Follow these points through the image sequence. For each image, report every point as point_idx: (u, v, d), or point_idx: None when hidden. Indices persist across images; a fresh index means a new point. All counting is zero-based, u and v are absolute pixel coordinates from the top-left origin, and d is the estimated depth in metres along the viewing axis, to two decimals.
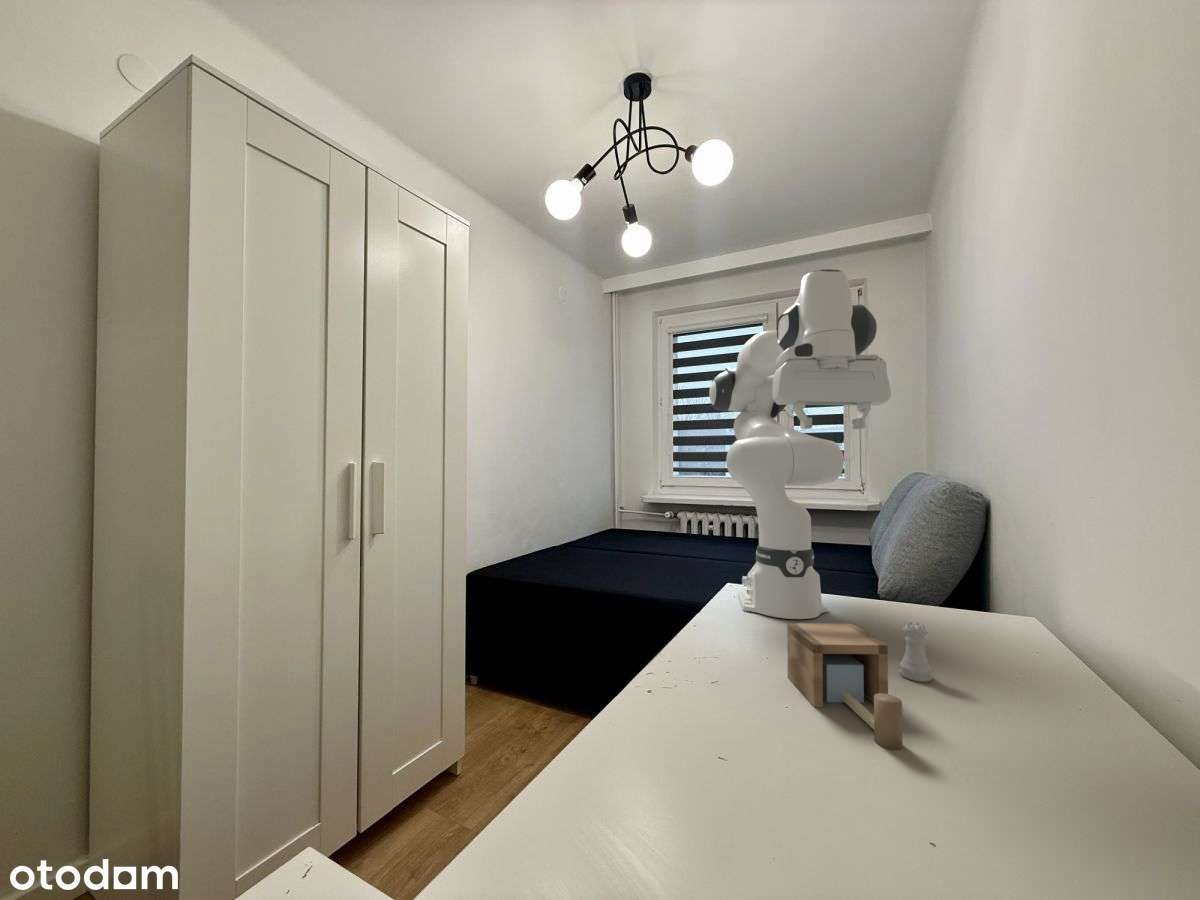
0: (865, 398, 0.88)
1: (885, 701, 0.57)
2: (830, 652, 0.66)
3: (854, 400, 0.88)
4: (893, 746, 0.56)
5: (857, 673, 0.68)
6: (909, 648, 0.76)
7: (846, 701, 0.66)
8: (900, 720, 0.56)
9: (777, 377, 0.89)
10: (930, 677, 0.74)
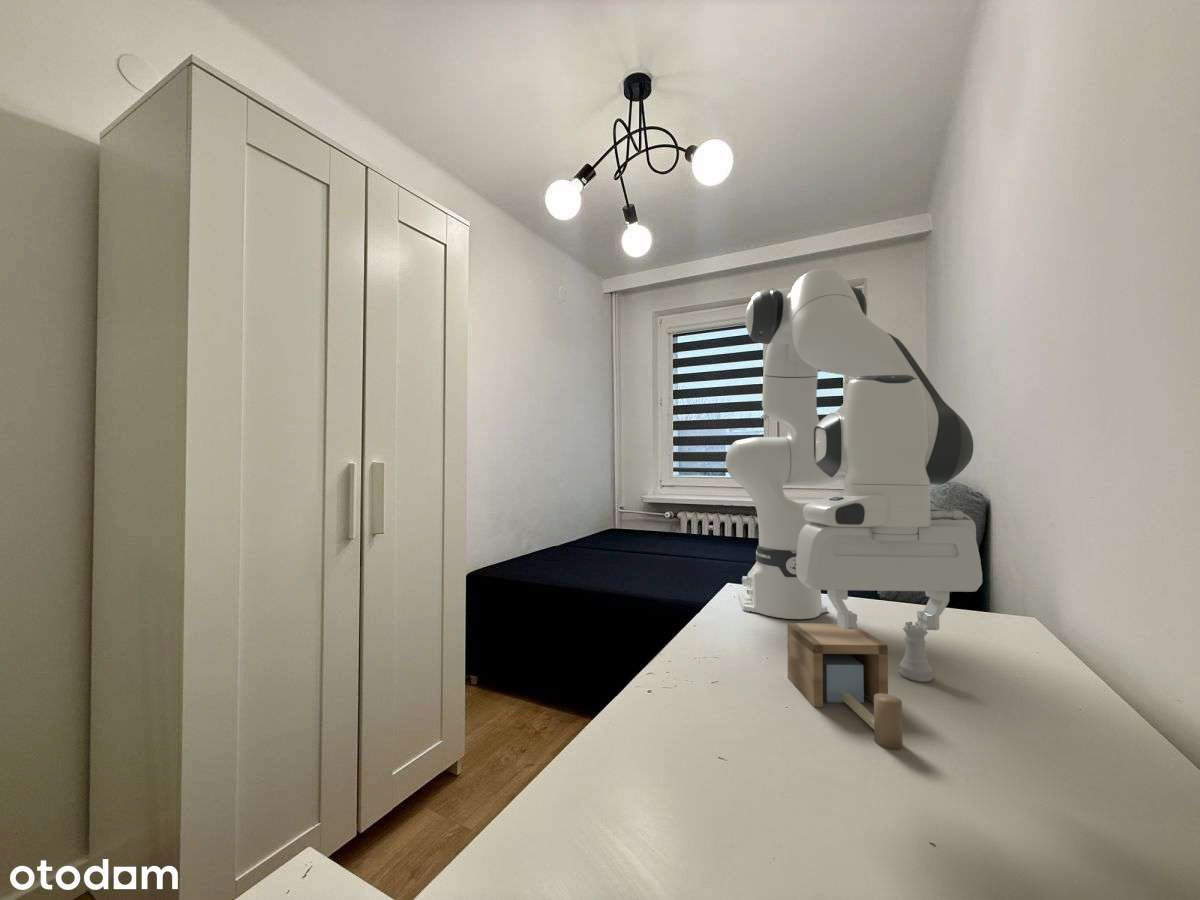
0: (942, 587, 0.56)
1: (885, 701, 0.57)
2: (830, 652, 0.66)
3: (924, 590, 0.56)
4: (893, 746, 0.56)
5: (857, 673, 0.68)
6: (909, 648, 0.76)
7: (846, 701, 0.66)
8: (900, 720, 0.56)
9: (805, 549, 0.57)
10: (930, 677, 0.74)
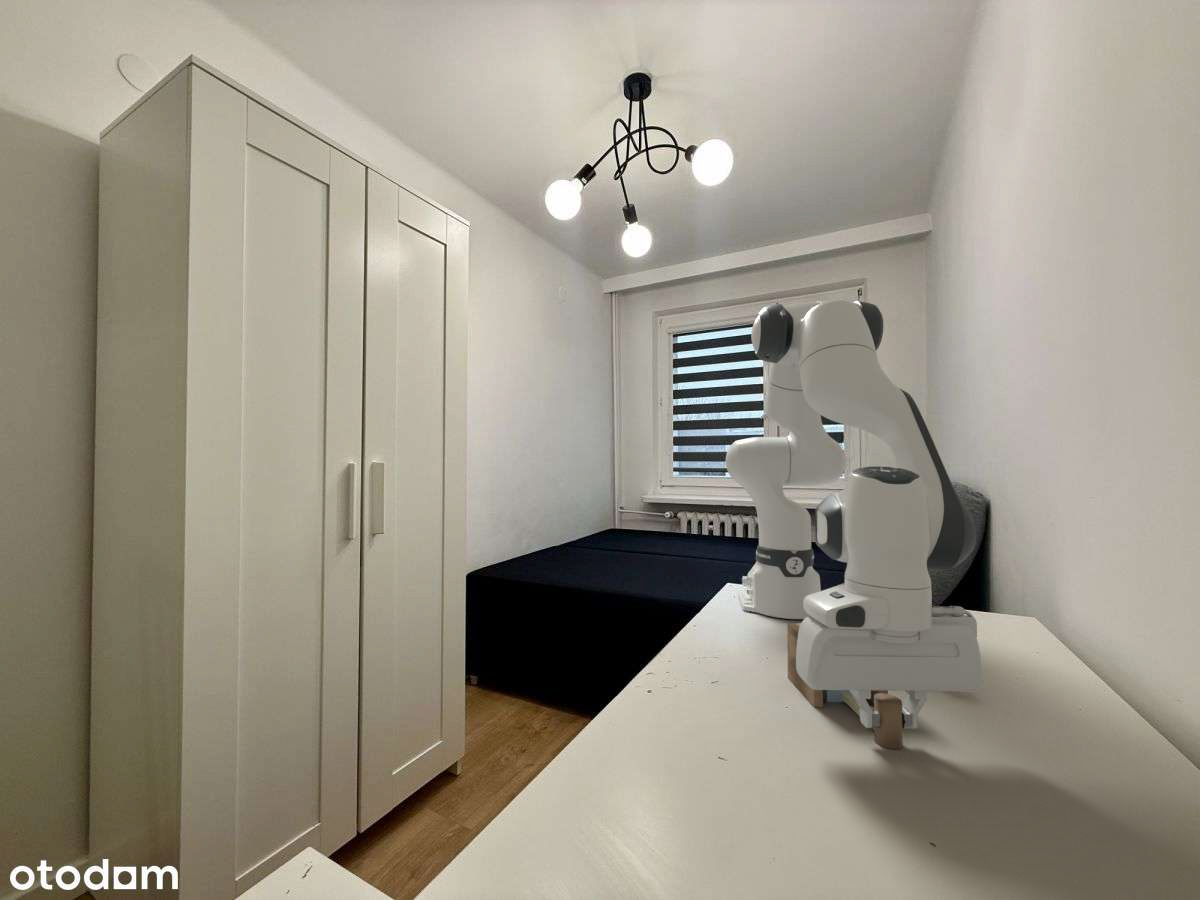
0: (943, 688, 0.56)
1: (885, 701, 0.57)
2: None
3: (925, 690, 0.56)
4: (893, 746, 0.56)
5: None
6: None
7: (846, 701, 0.66)
8: (900, 720, 0.56)
9: (806, 647, 0.57)
10: None
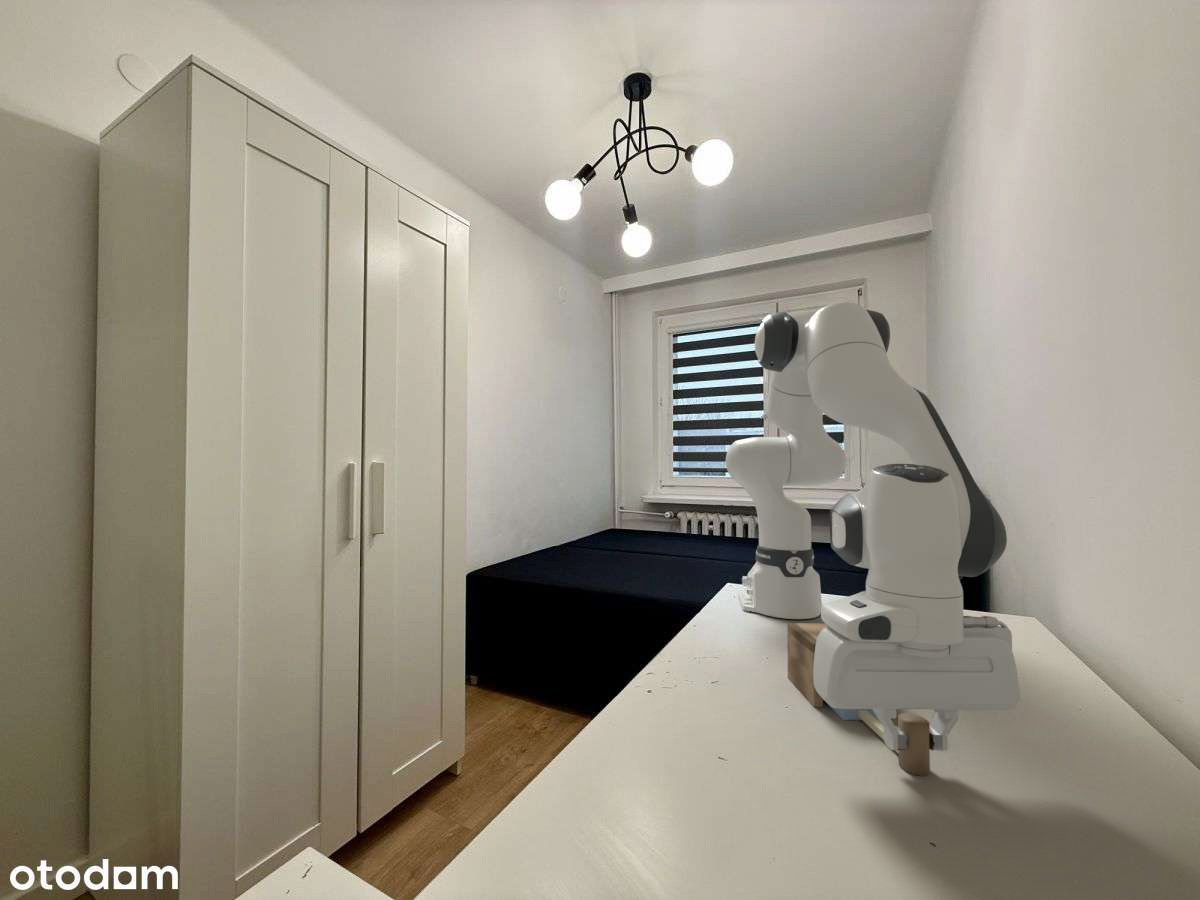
0: (976, 706, 0.51)
1: (911, 722, 0.52)
2: None
3: (956, 709, 0.51)
4: (920, 772, 0.51)
5: None
6: None
7: (864, 719, 0.61)
8: (928, 743, 0.52)
9: (825, 661, 0.52)
10: None
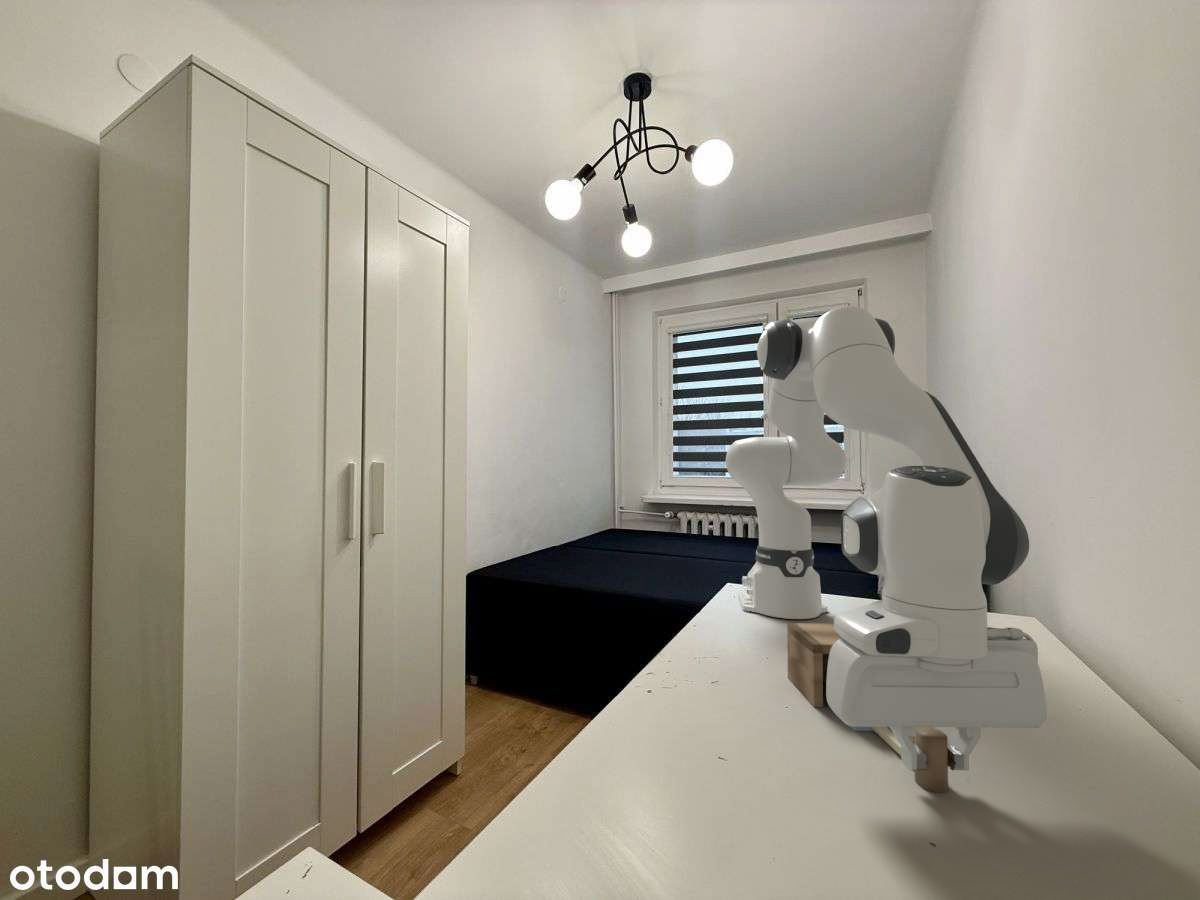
0: (1000, 724, 0.48)
1: (928, 736, 0.49)
2: None
3: (979, 726, 0.48)
4: (938, 789, 0.48)
5: None
6: None
7: (877, 731, 0.59)
8: (946, 759, 0.49)
9: (839, 676, 0.49)
10: None
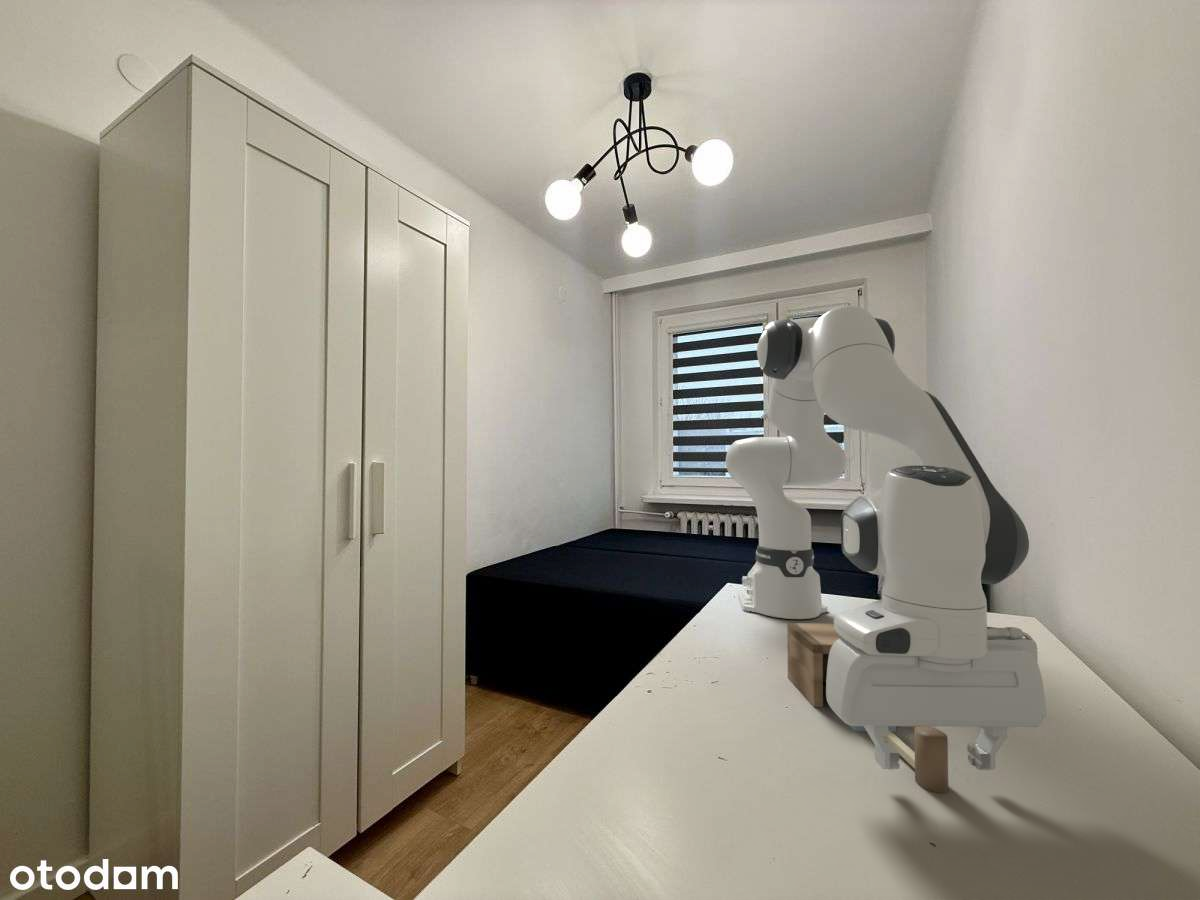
0: (1000, 723, 0.48)
1: (928, 736, 0.49)
2: None
3: (979, 726, 0.48)
4: (938, 789, 0.48)
5: None
6: None
7: None
8: (946, 758, 0.49)
9: (839, 676, 0.49)
10: None
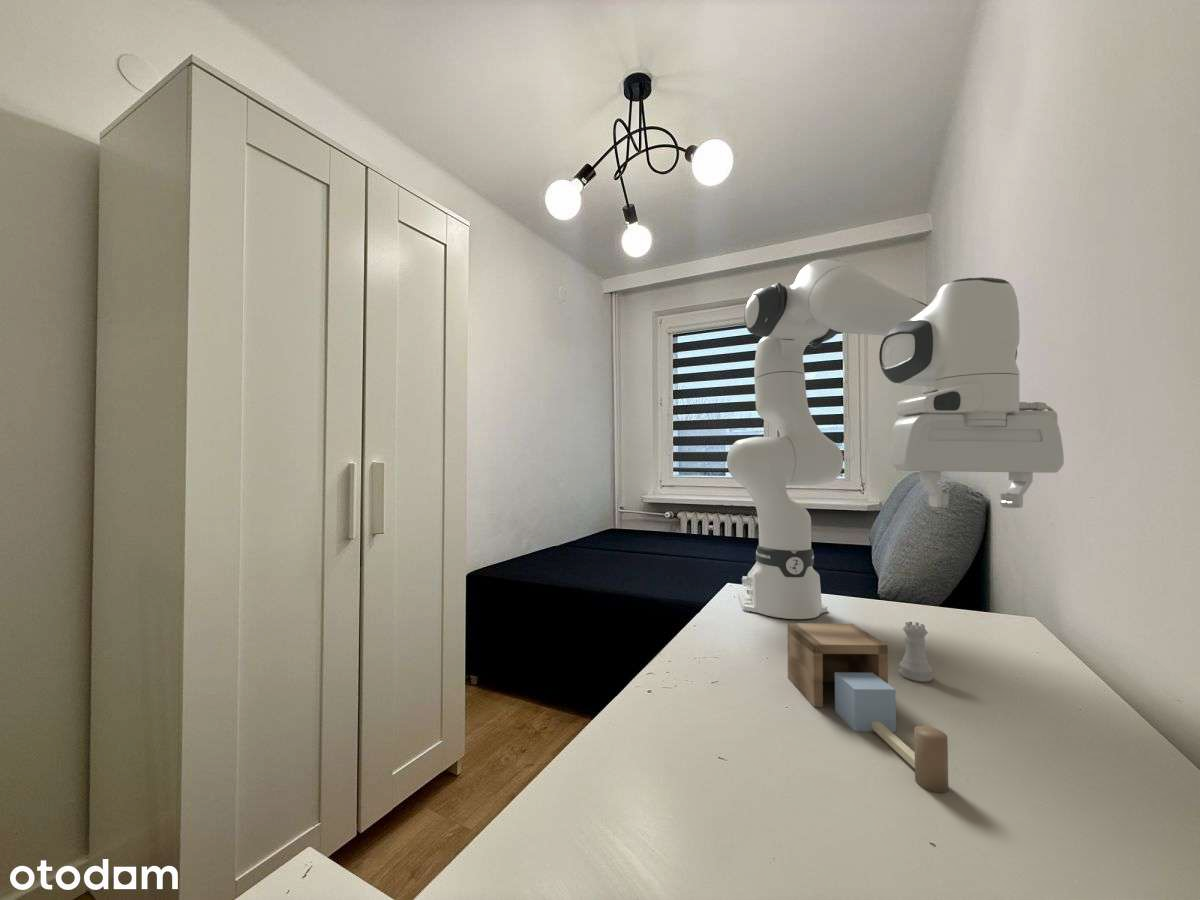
0: (1027, 468, 0.63)
1: (928, 736, 0.49)
2: (830, 652, 0.66)
3: (1011, 471, 0.63)
4: (938, 789, 0.48)
5: (888, 698, 0.60)
6: (909, 648, 0.76)
7: (877, 731, 0.59)
8: (946, 758, 0.49)
9: (903, 436, 0.64)
10: (930, 677, 0.74)
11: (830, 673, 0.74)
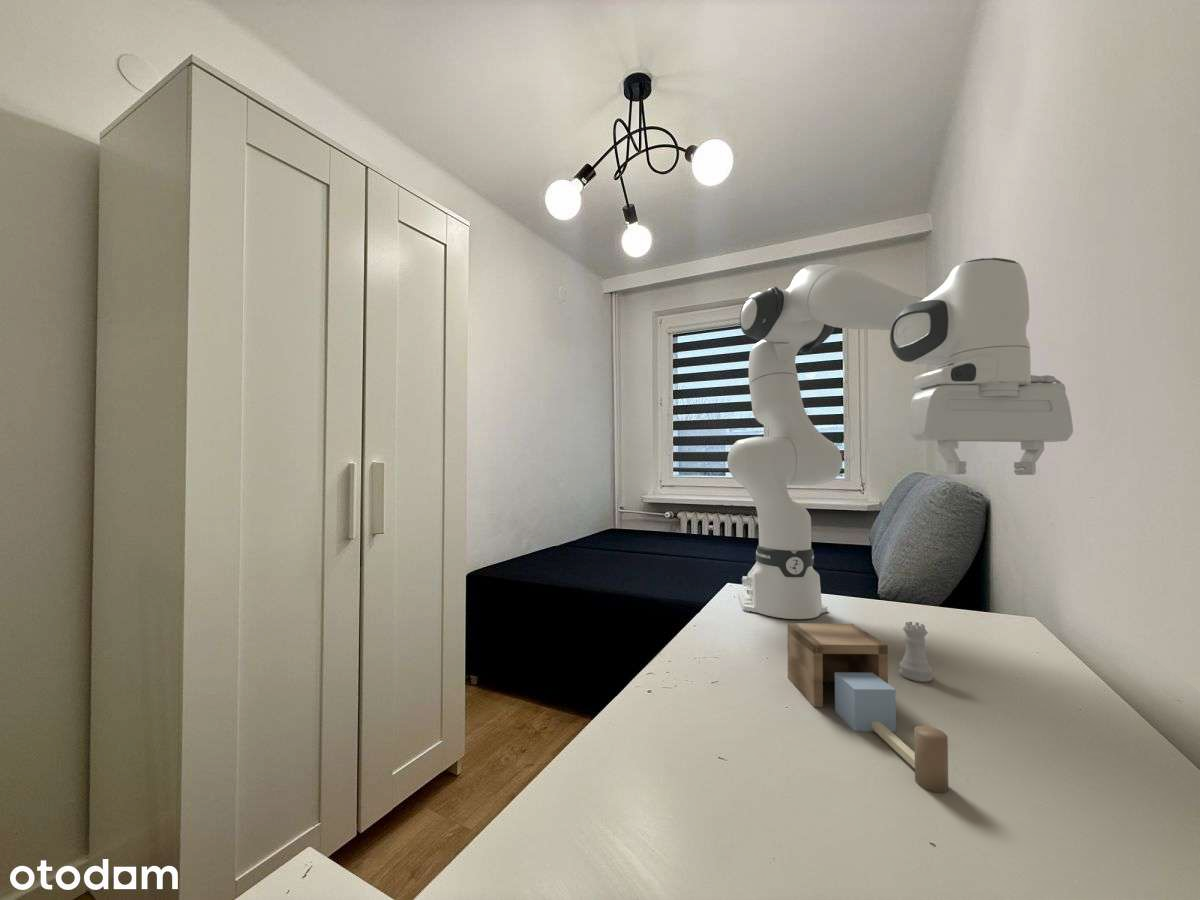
0: (1039, 436, 0.66)
1: (928, 736, 0.49)
2: (830, 652, 0.66)
3: (1024, 439, 0.67)
4: (938, 789, 0.48)
5: (888, 698, 0.60)
6: (909, 648, 0.76)
7: (877, 731, 0.59)
8: (946, 758, 0.49)
9: (922, 407, 0.68)
10: (930, 677, 0.74)
11: (830, 673, 0.74)
